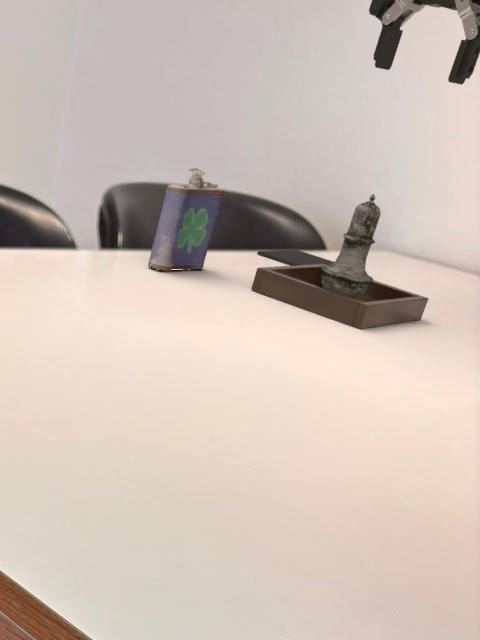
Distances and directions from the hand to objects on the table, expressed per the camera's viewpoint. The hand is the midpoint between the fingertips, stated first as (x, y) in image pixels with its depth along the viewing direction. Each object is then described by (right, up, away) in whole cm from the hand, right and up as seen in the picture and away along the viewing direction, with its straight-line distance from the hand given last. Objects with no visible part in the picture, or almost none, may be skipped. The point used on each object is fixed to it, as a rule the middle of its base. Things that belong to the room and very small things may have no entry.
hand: (417, 75), depth 109 cm
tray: (-4, -19, +13) cm, 24 cm away
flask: (-22, -15, +15) cm, 31 cm away
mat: (-1, -7, +34) cm, 34 cm away
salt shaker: (-4, -20, +13) cm, 24 cm away
